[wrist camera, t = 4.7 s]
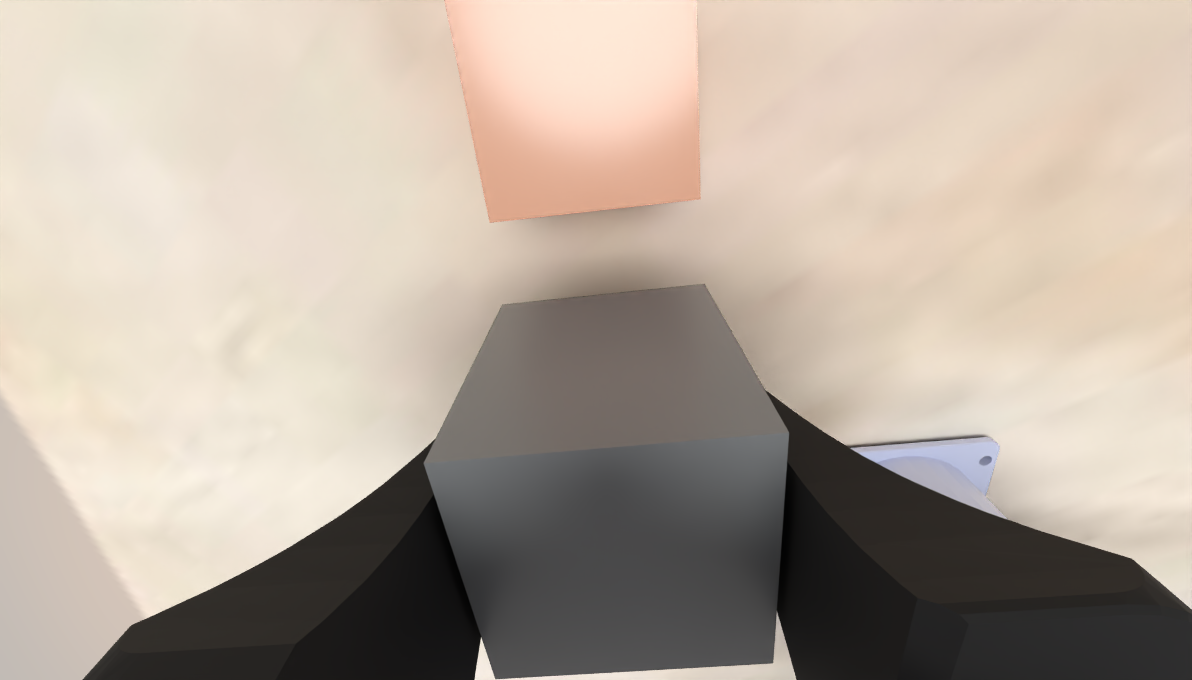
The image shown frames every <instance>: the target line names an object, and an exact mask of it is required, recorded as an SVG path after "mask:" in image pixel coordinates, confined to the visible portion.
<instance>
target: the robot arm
mask: <svg viewBox="0 0 1192 680" xmlns="http://www.w3.org/2000/svg"><path fill="white" fill-rule="evenodd" d="M765 391H766V390H765ZM766 393H767V395H768V396H769V398H770V400H771V402H772V403H773V405H774V407H775V409H776V410H777V412H778V414H779V416H780V417H781V419H782V421H783V423H784V425H785V426H786V428H787V430H788V432H789V442H788V456H787V470H786V485H785V499H784V514H783V528H782V542H781V557H780V571H779V585H778V600H777V612H778V616H779V619H780V623H781V626H782V630H783V633H784V637H785V640H786V643H787V647H788V650H789V654H790V658H791V661H792V665H793V668H794V672H795V676H796V679H797V680H1192V610H1191V609H1190V608H1189V607H1188V606H1187V605H1186V604H1184V603H1183V602H1182V601H1181V600H1180V599H1179V598H1177V597H1176V596H1175V595H1174V594H1173V593H1172V592H1170V591H1169V590H1168V589H1167V588H1166V587H1165V586H1163V585H1162V584H1161V583H1160V582H1159V581H1158V580H1156V579H1155V578H1154V577H1153V576H1152V575H1151V574H1149V573H1148V572H1147V571H1146V570H1145V569H1144V568H1142V567H1141V566H1140V565H1139V564H1138V563H1136V562H1135V561H1134V560H1133V559H1131V558H1128V557H1124V556H1121V555H1118V554H1114V553H1111V552H1108V551H1104V550H1101V549H1098V548H1095V547H1091V546H1088V545H1085V544H1081V543H1078V542H1075V541H1071V540H1068V539H1065V538H1061V537H1058V536H1055V535H1051V534H1048V533H1045V532H1041V531H1038V530H1035V529H1032V528H1030V527H1027V526H1024V525H1021V524H1018V523H1016V522H1013V521H1010V520H1008V519H1007V518H1006V517H1005V516H1004V515H1003V514H1002V513H1001V512H1000V511H999V510H998V509H997V508H996V507H995V506H994V505H993V503H992V502H991V501H990V500H989V499H988V498H987V497H986V493H987V490H988V486H989V483H990V480H991V476H992V473H993V470H994V466H995V463H996V460H997V457H998V453H999V450H1000V446H999V445H998V443H997V442H996V441H994V440H993V439H991V438H989V437H981V438H969V439H956V440H944V441H932V442H919V443H907V444H894V445H882V446H870V447H857V448H849V447H847V446H845V445H844V444H842V443H840V442H839V441H837V440H836V439H834V438H832V437H831V436H829V435H828V434H826V433H824V432H823V431H821V430H820V429H818V428H817V427H815V426H814V425H812V424H811V423H810V422H808V421H807V420H805V419H804V418H802V417H801V416H800V415H798V414H797V413H795V412H794V411H793V410H791V409H790V408H788V407H787V406H786V405H784V404H783V403H782V402H780V401H779V400H778V399H776V398H775V397H774V396H773V395H771V394H770V393H769V392H767V391H766ZM434 441H435V440H434ZM434 441H433V442H432V443H430V444H429V445H428V446H427V447H426V448H425V449H424V450H423V451H422V452H421V453H420V454H418V455H417V456H416V457H415V458H414V459H413V460H411V461H410V462H409V463H408V464H407V465H405V466H404V467H403V468H402V469H401V470H400V471H398V472H397V473H396V474H395V475H394V476H392V477H391V478H390V479H389V480H388V481H387V482H385V483H384V484H383V485H381V486H380V487H379V488H378V489H376V490H375V491H374V492H372V493H371V494H370V495H368V496H367V497H366V498H364V499H363V500H361V501H360V502H359V503H357V504H356V505H354V506H353V507H352V508H350V509H349V510H347V511H346V512H345V513H343V514H342V515H340V516H339V517H337V518H336V519H334V520H333V521H331V522H329V523H328V524H326V525H325V526H323V527H321V528H320V529H318V530H316V531H315V532H313V533H312V534H310V535H308V536H307V537H305V538H304V539H302V540H300V541H299V542H297V543H296V544H294V545H292V546H291V547H289V548H287V549H286V550H284V551H282V552H280V553H278V554H277V555H275V556H273V557H271V558H269V559H268V560H266V561H264V562H262V563H260V564H259V565H257V566H255V567H253V568H251V569H249V570H247V571H245V572H243V573H241V574H240V575H238V576H236V577H234V578H232V579H230V580H228V581H226V582H224V583H222V584H220V585H218V586H216V587H214V588H212V589H210V590H208V591H206V592H203V593H201V594H199V595H197V596H195V597H193V598H190V599H188V600H186V601H184V602H182V603H179V604H177V605H175V606H173V607H171V608H169V609H166V610H164V611H162V612H160V613H158V614H156V615H153V616H151V617H149V618H147V619H144V620H142V621H140V622H138V623H135V624H133V625H131V626H130V627H129V629H128V630H127V631H126V632H125V633H124V634H123V635H122V636H121V637H120V638H119V640H118V641H117V642H116V643H115V644H114V645H113V646H112V647H111V648H110V650H109V651H108V652H107V653H106V654H105V655H104V656H103V658H102V659H101V660H100V661H99V662H98V663H97V664H96V665H95V667H94V668H93V669H92V670H91V671H90V672H89V673H88V674H87V675H86V676H85V678H84V679H83V680H474V679H475V672H476V665H477V659H478V652H479V646H480V640H481V634H480V631H479V628H478V625H477V622H476V619H475V616H474V613H473V610H472V607H471V604H470V601H469V598H468V595H467V592H466V589H465V586H464V583H463V580H462V577H461V574H460V571H459V568H458V565H457V562H456V559H455V556H454V553H453V550H452V547H451V544H450V541H449V538H448V535H447V532H446V529H445V526H444V523H443V520H442V517H441V514H440V511H439V508H438V505H437V502H436V499H435V496H434V493H433V490H432V487H431V484H430V481H429V478H428V475H427V472H426V469H425V466H424V462H425V459H426V457H427V455H428V453H429V451H430V449H431V447H432V445H433V443H434ZM982 457H983V458H982ZM981 458H982V459H981Z"/></svg>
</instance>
